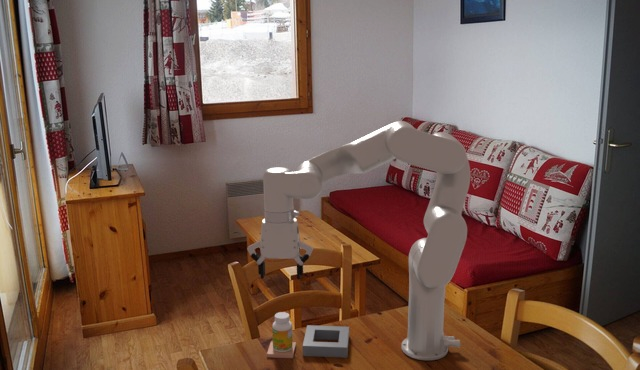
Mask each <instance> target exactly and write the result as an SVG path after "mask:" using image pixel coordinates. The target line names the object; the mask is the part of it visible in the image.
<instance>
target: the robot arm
mask: <svg viewBox="0 0 640 370" xmlns="http://www.w3.org/2000/svg"><path fill="white" fill-rule="evenodd" d="M395 159H396V160H397V161H401V162H403V163H405V164H409V165H412V166H415V167H419V168H423V169H425V170H429V171H433V172H436V177H435V183H434V188H433V191H432V192H431V193H432V194H431V197H430V200H429V203H428V206H427V208H426V211H425V214H424V217H423V225H424V229H425V230H426V233H427V237H423V238H420V239H417V240H416V241H415V242H414V243H413V244H412V245H411V248H410V250H409V253H408V274H409V275H408V279H409V280H408V281H409V283H408V287H409V288H408V308H407V309H408V311H407V312H408V313H407V337H406V338H404V339H403V340H402V342H401V351H402V352H403V353H404V354H405V355H406V356H408V357H409V358H411V359H415V360H419V361H435V360H441V359H442V358H444V357H446V356H447V354H448V352H449V347H453V348H460V347H461V341H460V339H455V336H452V335H451V336H450V335H448V336H447V335H446V334H445V333H444V315H445V314H444V313H445V299H446V286H447V285H448V284H449V283H450V282H451V281H452V278H453V277H454V274H455V272H456V270H457V267H458V265H459V262H460V259H461V256H462V254H463V252H464V251H463V250H464V248H465V245H466V241H467V238H468V237H467V236H468V225H467V223H466V220H465V219H464V217H463V216H462V215H463V214H462V213H463V208H464V207H465V206H464V205H465V202H466V199H467V196H468V192H469V189H470V184H471V166H470V162H469V158H468V155H467V151H466V148H465V147H464V145H463V144H462V142H460V141H459V140H457V138H455V137H454V136H453V135H452V134H450V133H448V132H445V131H439V132H435V133H433V134H432V133H428V132H425V131H422V130H420V129H417V128H415V127H414V126H413V125H411V123H410V122H407V121H405V120H398V121H394V122H392V123H388V124H387V125H385V126H383V127H381V128H379V129H377V130H375V131H373V132H372V131H371V132H370V133H369V134H367V135H365V136H362V137H360V138H358V139H356V140H354V141H351V142H349V143H346V144H344V145H341V146H339V147H335V148H332V149H330V150H327V151H325V152H322V153H320V154H318V155H316V156H314V157H312V158H310V159H308V160H306V161H303V162H302V163H301V164H299V165H298V166H297V167H296V168H295V171H292V170H291V169H290V168H287V167H282V166H281V167H279V166H278V167H270V168H267V169H265V170H264V172H263V175H262V179H263V180H262V181H263V183H262V184H263V205H264V206H263V207H264V208H263V209H264V218H263V219H262V222H261V229H260V240H258V241H256V242H254V243H252V244H250V245H248V246H247V248H246V250H247V251H248V253H249V255H250V257H251V258H252V259H253V261H255V263H256V264H257V265H258V266H257V268H258V270H257V271H258V275H260V279H261V280H263V279H265V276H266V262H265V259H286V260H287V259H291V260H292V259H293V260H295V262H296V263H297V264H296V279H297V280H301V277H302V276H303V275H304V263H306V262H307V260H309V258H310V257H311V255H312V253H313V250H314V247H313V246H311V245H310V244H308V243H305V242H303V241H301V239H300V227H299V224H298V220H297V217H300V211H298V210H295V207H294V199H298V200H299V199H300V200H312V199H316V198H317V197H318V196H320V195H321V193H322V191H323V187H324V183H326V182H329V181H331V180H333V179H335V178H338V177H340V176H343V175H347V174H356V175H358V174H359V175H361V174H366V173H369V172H371V171H372V170H375V169H377V168H378V167H380V166H383V165H385V164H387V163H389V162H391V161H394V160H395ZM257 248H259V249H260V250H259V251H260V252H259V253H260V255H259V254H258V253H257V252H256V251H255V250H256V249H257ZM301 249H302V250H304V251H306V252H305V254H304V255H301V254H300V251H301Z"/></svg>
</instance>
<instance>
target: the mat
mask: <svg viewBox="0 0 640 370" xmlns="http://www.w3.org/2000/svg"><path fill="white" fill-rule="evenodd" d="M296 346H297V342H296V341H292V349H291V350H290V351H287V352H277V351H275V350H274V349H273V340H271V341H270V343H269V346H268V349H267V352H266V358H274V359H275V358H277V359H294V355H295V352H296V351H295V350H296Z"/></svg>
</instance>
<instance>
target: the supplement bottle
mask: <svg viewBox="0 0 640 370" xmlns="http://www.w3.org/2000/svg"><path fill="white" fill-rule="evenodd" d="M271 328H272V341H273V349H274V350H275V351H277V352H287V351H290V350H291V349H292V342H293V323H292V322H291V319H290V314H289V313H288V312H284V311H279V312H276V313H275V314H274V322H273V323H272V327H271Z"/></svg>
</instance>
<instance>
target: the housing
mask: <svg viewBox="0 0 640 370" xmlns="http://www.w3.org/2000/svg"><path fill="white" fill-rule="evenodd" d="M349 339H350V326H340V325H339V326H338V325H336V326H335V325H331V326H330V325H315V324H314V325H313V324H312V325H311V324H310V325H308V324H307V325H306V328H305V334H304V339H303V342H302V357H323V358H345V359H347V358H348V352H349ZM316 340H323V341H316ZM325 340H327V341H325ZM328 341H329V342H328ZM331 341H338V342H331Z"/></svg>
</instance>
